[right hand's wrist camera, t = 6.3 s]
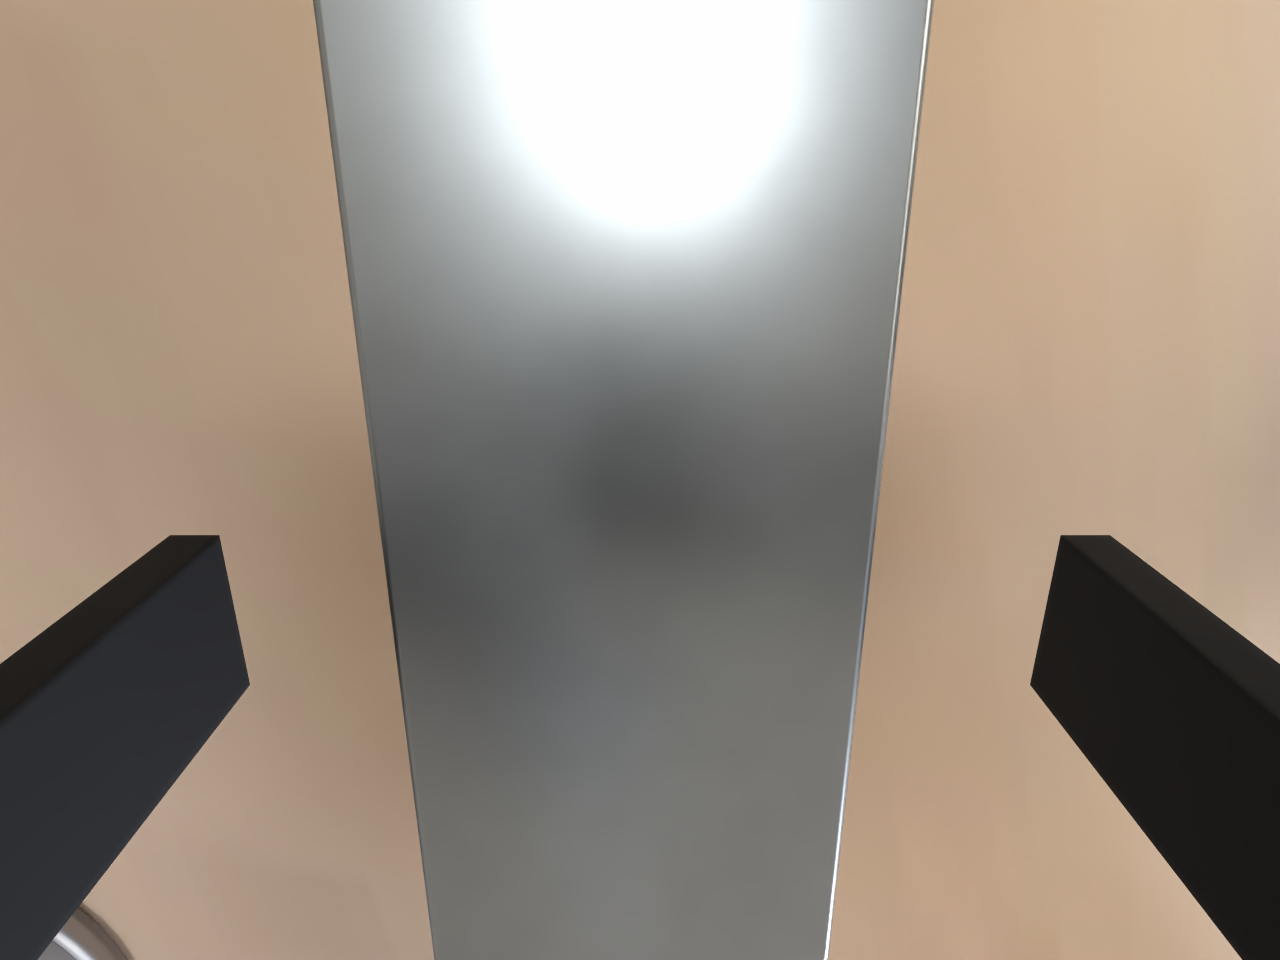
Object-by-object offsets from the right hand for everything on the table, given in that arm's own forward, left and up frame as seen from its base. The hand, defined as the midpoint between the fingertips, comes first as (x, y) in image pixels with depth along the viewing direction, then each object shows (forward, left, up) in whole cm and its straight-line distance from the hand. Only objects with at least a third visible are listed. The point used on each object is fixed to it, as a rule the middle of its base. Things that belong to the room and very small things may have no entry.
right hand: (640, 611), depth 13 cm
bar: (-3, +10, -5) cm, 12 cm away
